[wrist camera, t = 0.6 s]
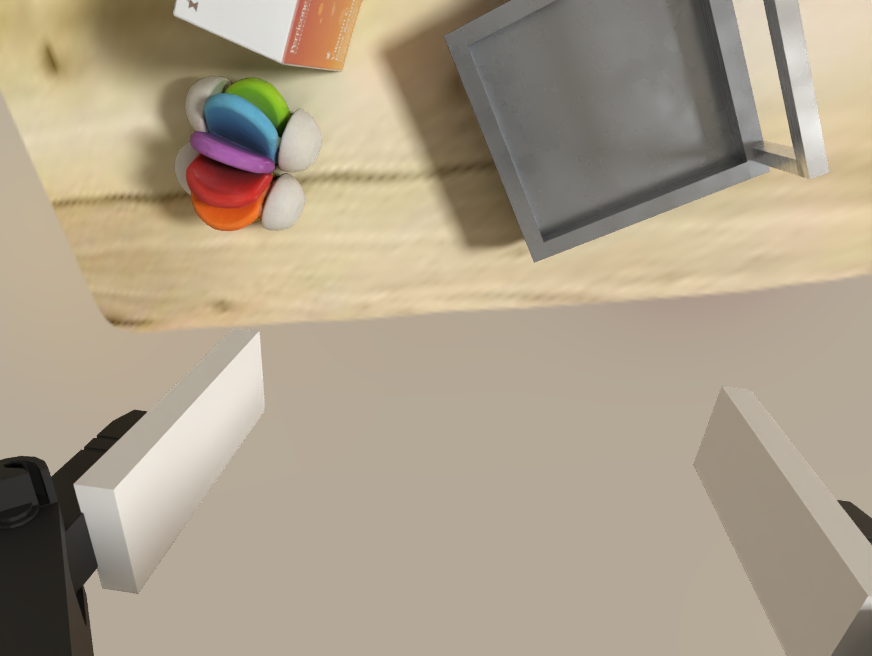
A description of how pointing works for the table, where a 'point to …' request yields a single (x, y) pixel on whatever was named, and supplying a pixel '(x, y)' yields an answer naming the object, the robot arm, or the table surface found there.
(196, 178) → the rainbow segmented toy
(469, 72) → the grey storage bin
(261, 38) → the small box
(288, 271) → the table surface
